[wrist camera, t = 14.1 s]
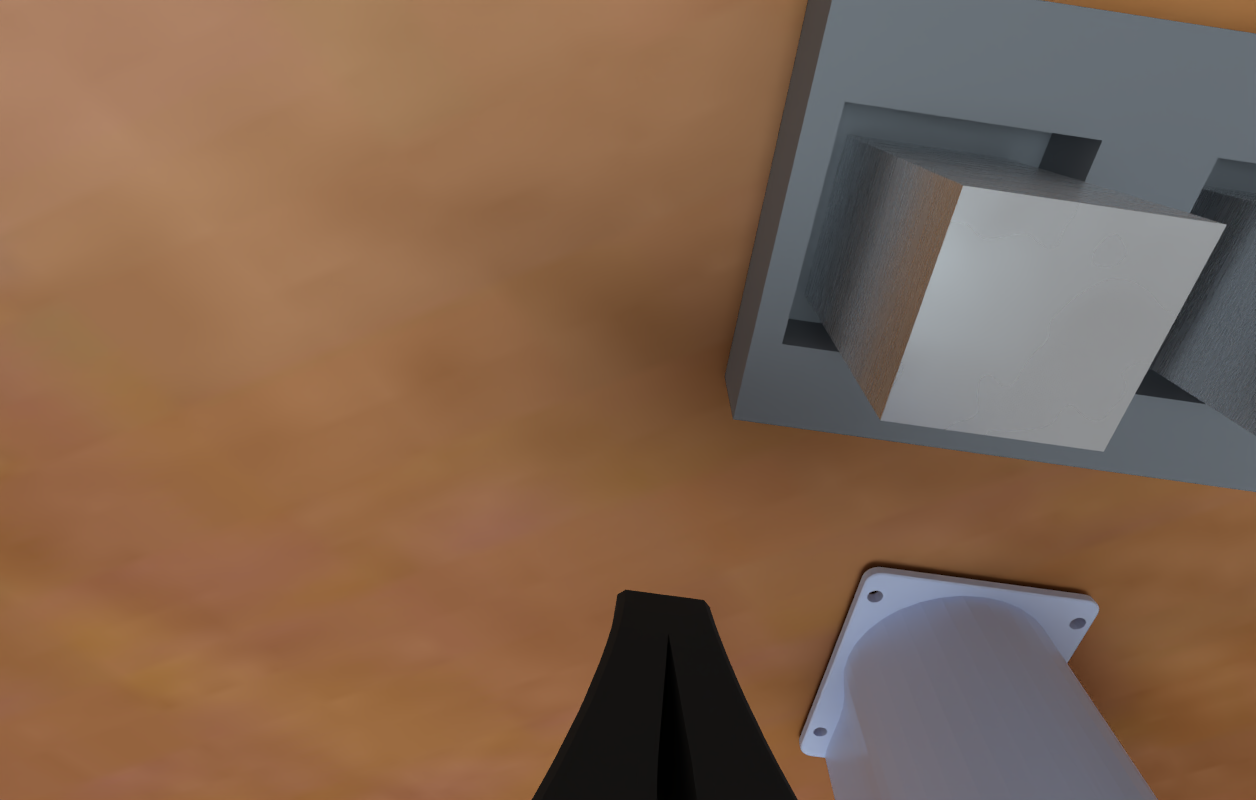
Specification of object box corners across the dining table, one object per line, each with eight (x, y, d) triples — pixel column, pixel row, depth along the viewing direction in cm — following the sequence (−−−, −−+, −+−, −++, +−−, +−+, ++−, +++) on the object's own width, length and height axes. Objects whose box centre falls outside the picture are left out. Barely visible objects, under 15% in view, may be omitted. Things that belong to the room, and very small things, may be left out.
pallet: (1218, 445, 20) (1289, 496, 18) (724, 376, 20) (733, 419, 18) (1449, 80, 16) (1586, 84, 13) (812, -18, 15) (839, -32, 13)
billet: (950, 314, 18) (1103, 451, 12) (804, 293, 18) (880, 420, 12) (1009, 159, 16) (1226, 224, 10) (846, 134, 16) (963, 185, 10)
